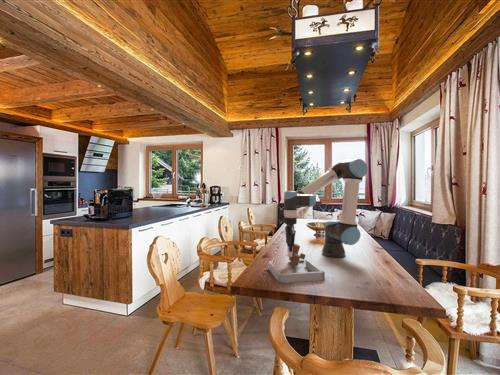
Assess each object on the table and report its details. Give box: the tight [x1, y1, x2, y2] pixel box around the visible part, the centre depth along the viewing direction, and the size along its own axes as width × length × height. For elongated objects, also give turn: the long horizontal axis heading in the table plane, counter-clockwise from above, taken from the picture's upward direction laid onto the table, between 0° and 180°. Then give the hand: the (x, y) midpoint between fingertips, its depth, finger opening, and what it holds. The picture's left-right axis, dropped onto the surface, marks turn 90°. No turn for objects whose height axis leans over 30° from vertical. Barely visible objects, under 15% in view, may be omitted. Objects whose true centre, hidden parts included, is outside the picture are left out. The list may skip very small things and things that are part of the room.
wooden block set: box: [288, 243, 306, 267], centre depth 154 cm, size 18×9×10 cm, turn 159°
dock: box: [268, 259, 326, 284], centre depth 137 cm, size 24×22×4 cm
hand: (289, 256), depth 150 cm, fingers closed
